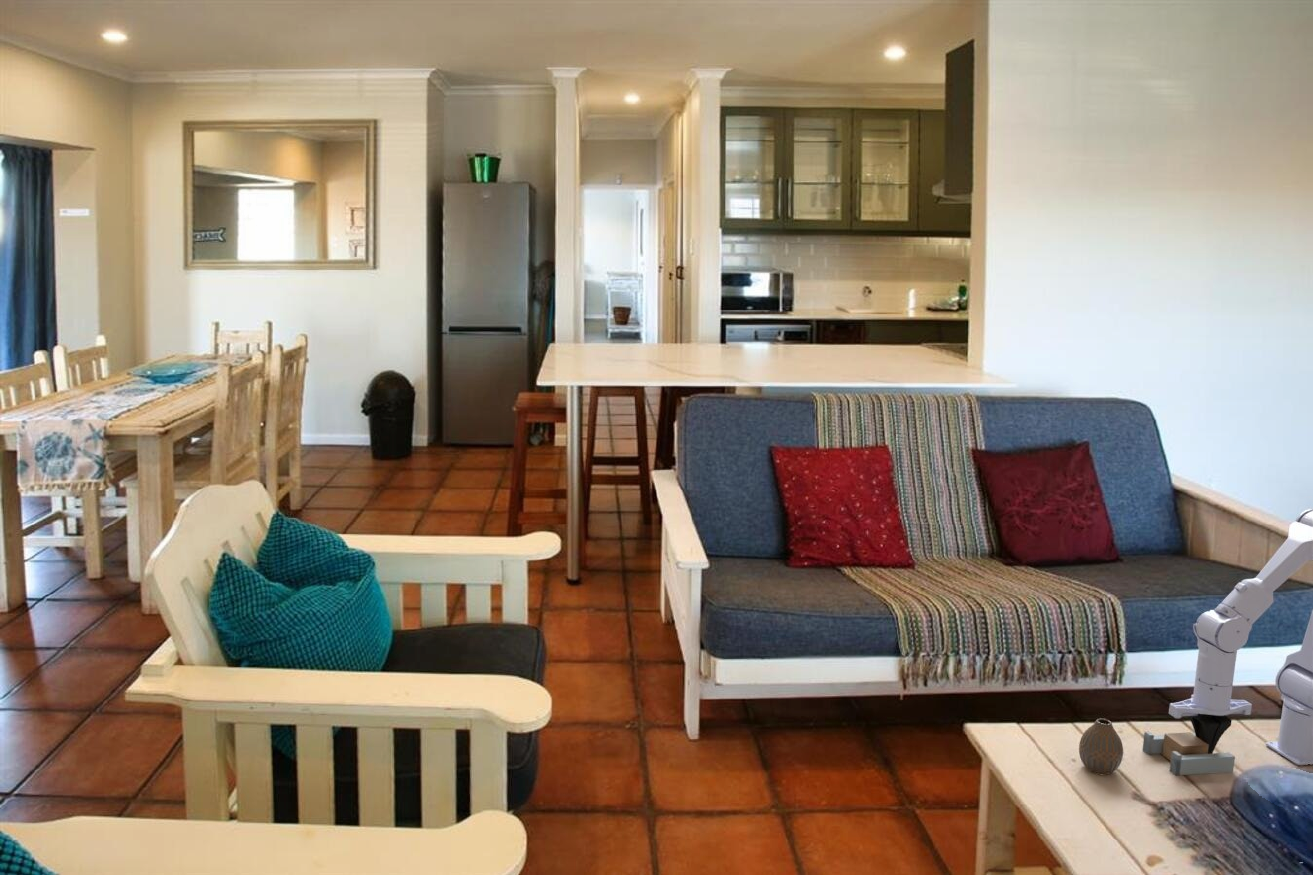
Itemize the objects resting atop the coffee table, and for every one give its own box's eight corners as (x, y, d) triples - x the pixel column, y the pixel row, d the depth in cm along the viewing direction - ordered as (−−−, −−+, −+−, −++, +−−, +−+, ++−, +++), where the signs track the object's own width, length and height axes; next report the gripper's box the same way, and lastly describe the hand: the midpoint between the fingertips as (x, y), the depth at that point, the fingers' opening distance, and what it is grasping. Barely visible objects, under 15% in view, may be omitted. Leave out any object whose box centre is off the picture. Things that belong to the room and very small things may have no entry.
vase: (1112, 761, 177) (1118, 714, 176) (1126, 780, 171) (1132, 732, 169) (1072, 758, 178) (1076, 711, 177) (1084, 777, 171) (1089, 729, 170)
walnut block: (1187, 753, 181) (1190, 732, 180) (1206, 766, 176) (1208, 745, 175) (1162, 754, 180) (1164, 733, 179) (1179, 768, 175) (1182, 746, 175)
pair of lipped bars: (1197, 747, 183) (1200, 728, 183) (1233, 771, 175) (1235, 752, 174) (1142, 750, 182) (1144, 731, 181) (1175, 775, 173) (1177, 755, 172)
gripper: (1235, 669, 181) (1225, 740, 184) (1161, 672, 179) (1152, 744, 181) (1264, 685, 174) (1254, 759, 177) (1188, 689, 172) (1178, 763, 174)
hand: (1204, 753), depth 178 cm, fingers closed
